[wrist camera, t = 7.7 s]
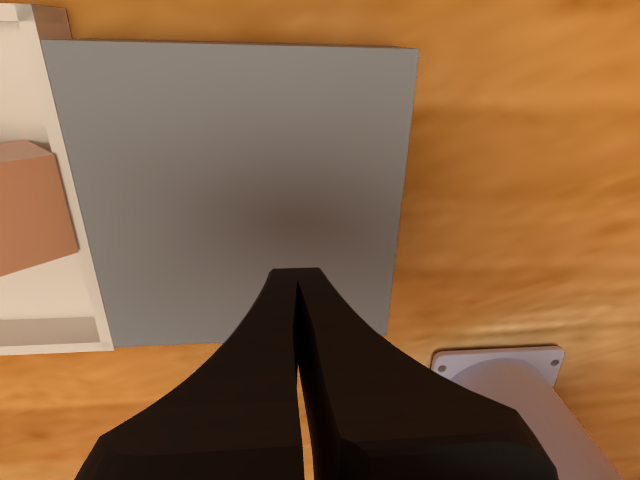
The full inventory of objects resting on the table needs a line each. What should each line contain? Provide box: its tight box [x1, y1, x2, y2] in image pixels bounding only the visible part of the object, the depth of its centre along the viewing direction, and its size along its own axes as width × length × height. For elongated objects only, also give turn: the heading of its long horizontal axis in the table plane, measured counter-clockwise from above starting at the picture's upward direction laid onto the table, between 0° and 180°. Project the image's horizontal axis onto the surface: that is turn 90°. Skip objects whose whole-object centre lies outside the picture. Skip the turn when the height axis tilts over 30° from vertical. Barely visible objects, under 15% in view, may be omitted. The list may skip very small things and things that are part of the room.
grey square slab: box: [40, 38, 420, 347], centre depth 18 cm, size 12×12×4 cm
